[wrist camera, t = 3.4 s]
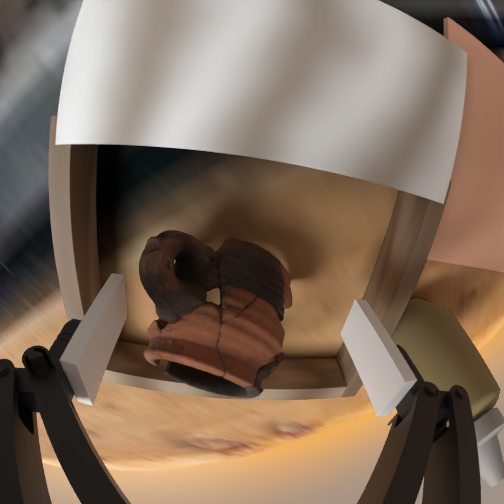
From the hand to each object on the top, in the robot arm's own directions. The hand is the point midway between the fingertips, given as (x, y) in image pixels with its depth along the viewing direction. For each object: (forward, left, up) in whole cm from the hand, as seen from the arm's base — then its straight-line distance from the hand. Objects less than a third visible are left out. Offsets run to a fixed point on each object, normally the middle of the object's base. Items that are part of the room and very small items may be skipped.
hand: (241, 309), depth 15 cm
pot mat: (+22, +13, -4) cm, 26 cm away
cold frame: (0, 0, -4) cm, 4 cm away
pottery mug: (-1, +1, -5) cm, 5 cm away
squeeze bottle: (+16, -4, -4) cm, 17 cm away
